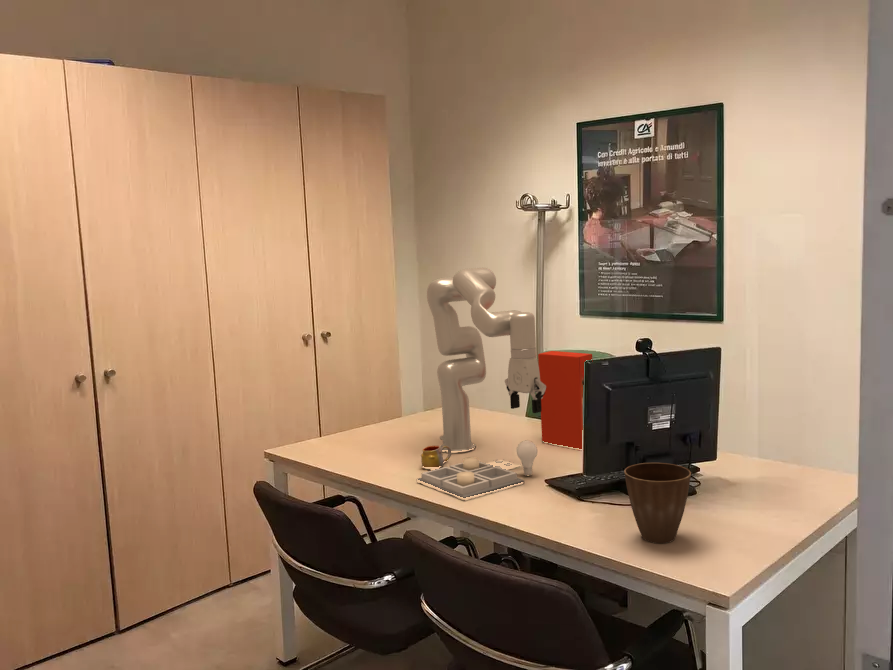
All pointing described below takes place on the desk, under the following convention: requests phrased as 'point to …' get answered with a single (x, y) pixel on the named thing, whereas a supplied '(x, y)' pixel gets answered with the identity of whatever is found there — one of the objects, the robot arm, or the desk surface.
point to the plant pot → (657, 498)
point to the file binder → (562, 397)
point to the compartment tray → (470, 478)
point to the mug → (434, 456)
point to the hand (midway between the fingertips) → (526, 410)
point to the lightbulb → (527, 455)
